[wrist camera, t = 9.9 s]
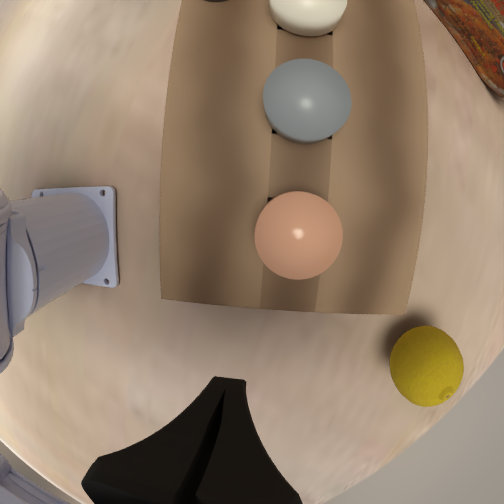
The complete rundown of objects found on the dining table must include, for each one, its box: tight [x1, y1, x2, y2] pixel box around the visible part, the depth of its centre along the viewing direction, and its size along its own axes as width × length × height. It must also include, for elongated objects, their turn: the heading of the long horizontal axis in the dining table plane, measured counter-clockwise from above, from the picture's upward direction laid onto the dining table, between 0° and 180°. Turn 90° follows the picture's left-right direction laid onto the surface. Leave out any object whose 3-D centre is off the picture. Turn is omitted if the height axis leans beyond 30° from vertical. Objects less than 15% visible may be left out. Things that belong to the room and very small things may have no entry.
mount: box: [160, 0, 428, 314], centre depth 16 cm, size 16×24×5 cm, turn 177°
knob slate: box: [263, 59, 352, 144], centre depth 15 cm, size 4×4×5 cm
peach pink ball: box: [254, 191, 343, 280], centre depth 17 cm, size 4×4×5 cm
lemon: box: [390, 326, 464, 407], centre depth 18 cm, size 6×6×8 cm
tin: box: [424, 0, 504, 98], centre depth 11 cm, size 15×3×8 cm, turn 34°
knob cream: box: [269, 0, 347, 36], centre depth 13 cm, size 4×4×5 cm
